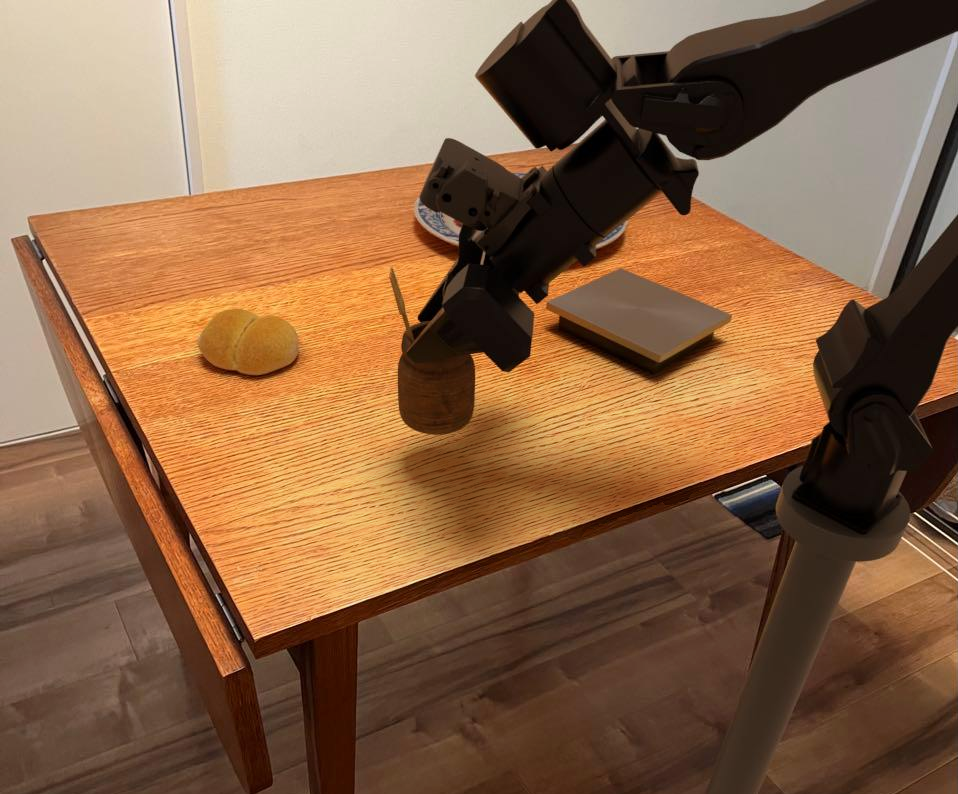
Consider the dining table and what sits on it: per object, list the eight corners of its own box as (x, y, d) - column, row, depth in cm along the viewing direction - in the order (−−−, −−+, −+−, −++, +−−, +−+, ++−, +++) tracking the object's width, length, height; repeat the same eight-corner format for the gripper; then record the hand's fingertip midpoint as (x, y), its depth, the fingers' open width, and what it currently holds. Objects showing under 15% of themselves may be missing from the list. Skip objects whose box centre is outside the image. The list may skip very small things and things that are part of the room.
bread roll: (278, 384, 83) (273, 345, 80) (189, 367, 85) (181, 328, 82) (315, 342, 89) (312, 304, 86) (231, 326, 91) (226, 288, 88)
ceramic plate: (369, 224, 111) (368, 200, 109) (508, 174, 126) (510, 152, 124) (533, 295, 98) (535, 269, 96) (666, 230, 113) (670, 206, 111)
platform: (725, 342, 93) (732, 314, 91) (655, 383, 86) (660, 355, 84) (616, 293, 100) (620, 267, 98) (543, 329, 93) (546, 301, 91)
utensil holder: (475, 438, 70) (480, 292, 62) (392, 436, 70) (387, 290, 62) (474, 396, 74) (479, 255, 66) (396, 395, 74) (392, 253, 66)
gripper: (508, 63, 64) (360, 210, 71) (483, 153, 50) (302, 323, 57) (608, 185, 68) (459, 310, 76) (611, 299, 54) (427, 437, 62)
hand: (416, 339), depth 68 cm, fingers closed on utensil holder, 5 cm apart
